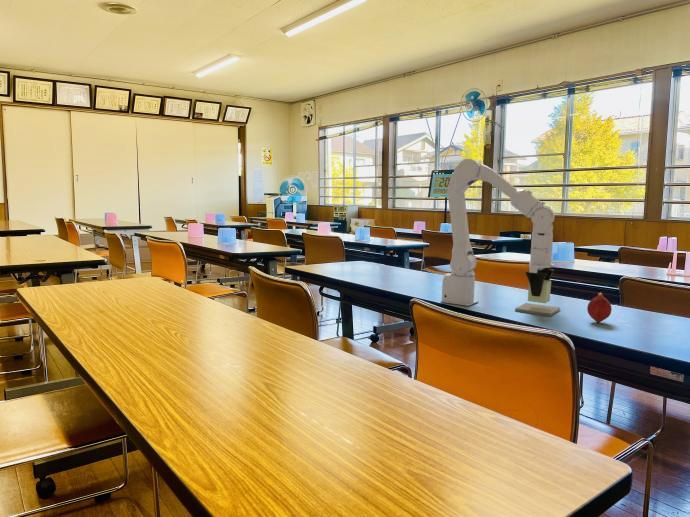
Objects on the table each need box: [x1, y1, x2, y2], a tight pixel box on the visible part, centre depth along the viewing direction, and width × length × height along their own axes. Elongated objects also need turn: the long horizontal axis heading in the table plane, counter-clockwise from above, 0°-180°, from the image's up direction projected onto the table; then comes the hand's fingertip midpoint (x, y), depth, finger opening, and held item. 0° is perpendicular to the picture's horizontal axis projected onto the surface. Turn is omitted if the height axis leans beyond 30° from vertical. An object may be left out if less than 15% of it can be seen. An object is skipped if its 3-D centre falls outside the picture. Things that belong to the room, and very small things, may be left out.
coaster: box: [514, 302, 561, 317], centre depth 149 cm, size 10×10×1 cm
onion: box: [586, 292, 613, 323], centre depth 136 cm, size 6×6×8 cm
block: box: [527, 279, 552, 304], centre depth 148 cm, size 5×5×6 cm
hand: (538, 294), depth 149 cm, fingers closed on block, 5 cm apart
